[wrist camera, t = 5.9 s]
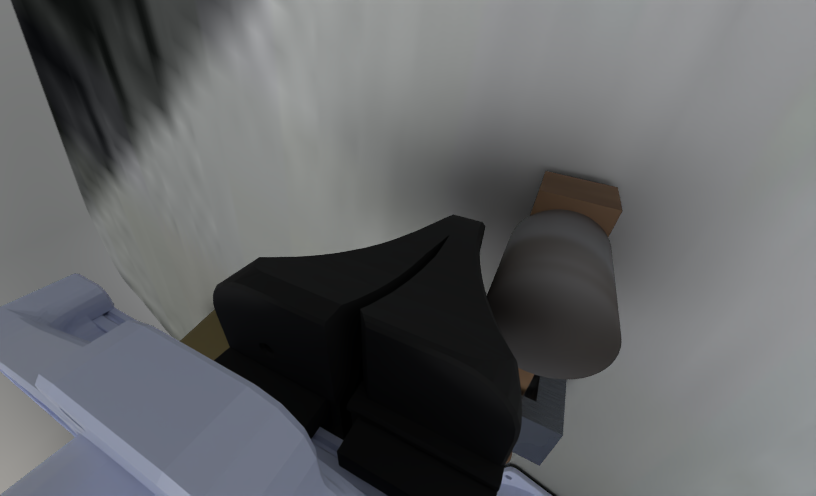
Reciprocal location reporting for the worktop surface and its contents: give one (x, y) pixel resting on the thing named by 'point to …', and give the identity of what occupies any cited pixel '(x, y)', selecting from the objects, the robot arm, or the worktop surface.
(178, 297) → the worktop surface
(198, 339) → the cork
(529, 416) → the keeper
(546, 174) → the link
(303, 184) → the worktop surface
